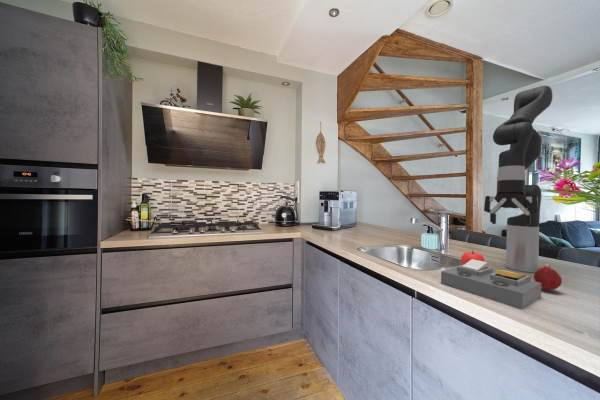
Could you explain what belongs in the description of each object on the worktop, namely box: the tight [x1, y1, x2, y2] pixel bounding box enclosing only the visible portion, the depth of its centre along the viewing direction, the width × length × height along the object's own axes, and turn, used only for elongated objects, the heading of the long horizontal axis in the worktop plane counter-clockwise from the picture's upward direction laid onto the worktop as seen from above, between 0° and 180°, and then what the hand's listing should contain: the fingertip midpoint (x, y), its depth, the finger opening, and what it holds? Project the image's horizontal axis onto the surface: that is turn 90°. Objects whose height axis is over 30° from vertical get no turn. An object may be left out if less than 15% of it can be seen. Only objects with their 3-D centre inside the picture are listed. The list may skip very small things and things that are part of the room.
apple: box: [460, 250, 486, 266], centre depth 89 cm, size 8×8×8 cm
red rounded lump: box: [533, 263, 563, 292], centre depth 71 cm, size 6×6×8 cm
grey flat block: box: [440, 265, 542, 310], centre depth 71 cm, size 14×20×5 cm
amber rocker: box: [495, 268, 525, 278], centre depth 68 cm, size 7×4×1 cm, turn 121°
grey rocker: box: [462, 259, 489, 271], centre depth 76 cm, size 7×4×1 cm, turn 121°
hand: (509, 225), depth 83 cm, fingers open, 8 cm apart
